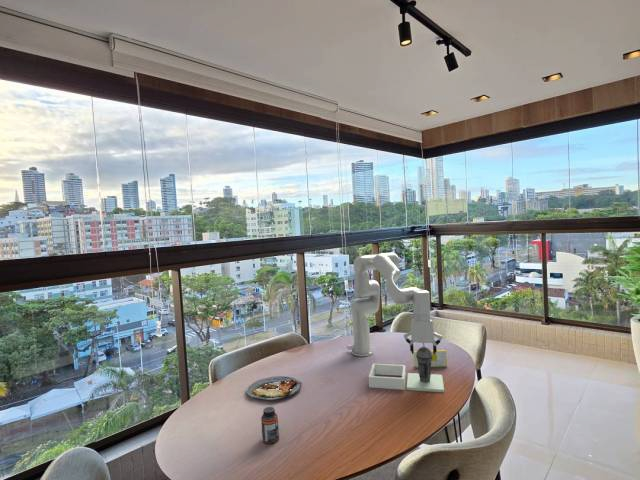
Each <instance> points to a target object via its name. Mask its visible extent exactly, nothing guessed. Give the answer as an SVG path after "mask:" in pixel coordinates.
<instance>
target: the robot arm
mask: <svg viewBox="0 0 640 480" xmlns="http://www.w3.org/2000/svg"><path fill="white" fill-rule="evenodd" d="M399 265H400V258H399V256H398V255H397V253H395V252H393V251H391V252H382V253H375V254H367V255H366V254H365V255H360V256H357V257H356V258H355V259H354V260H353V270H354V271H353V272H354V278H353V279H354V281H353V294H354V297H355V298H357V299H355V300H353V301H352V302H351V303H350V306H349V308H350V312H351V318H352V320H351V321H352V330H353V332H352V335H353V336H352V337H353V344H347V345H346V349H347V350H351V354H352V355H353V356H356V357H368V356H372V355H373V354H374V350H373V349H372V348H371V333H370V322H369V319H368V318H367V317H366V316H368V315H373V314H376V313H378V311H379V309H380V301H381V300H380V299H381V285H380V284H379V282H378V281H377V280H374V279H370V273H369V271H376V270H377V271H378V272H379V273H380V275H381V276H382V277H383V278H384V279H385V289H386V292H387V295H388V297H389V298H390V299H391V300H392V302H394V303H395V304H396V305H398V306H406V305H409V304H412V305H413V310H412V311H413V313H411V314H410V318H412V321H411V329H410V331H408V332H407V333H404V334H403V338H404V339H405V342H407V344H408V345H409V348H410V352H411V354H412V355H414V351H415V350H414V343H422V344H423V343H424V344H427V343H428V344H432V350H433V355H435V352H437V346H438V345H439V344H440V343H441V341H442V340H443V335H441V334H439V333H437V332H436V331H435V328H434V323H433V319H431V299H430V297H431V295H430V291H428V290H426V289H420V288H418V287H416V286H412V287H404V288H399V287H398V286H397V285H396V283H395V282H397V280H399V279H400V277H401V270H400V269H399ZM409 336H410V337H411V339H409ZM435 337H436V338H437V340H435Z"/></svg>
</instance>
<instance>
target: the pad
mask: <svg viewBox="0 0 640 480" xmlns="http://www.w3.org/2000/svg"><path fill="white" fill-rule="evenodd" d="M406 391H418V392H434V393H445V388H444V379H443V375H442V374H437V373H434V374H433V373H431V376H430V382H428V383H424V382H421V381H420V377H419V372H418V373H417V372H416V373H415V372H413V373H412V372H407V380H406Z"/></svg>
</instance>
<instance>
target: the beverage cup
mask: <svg viewBox="0 0 640 480" xmlns="http://www.w3.org/2000/svg"><path fill="white" fill-rule="evenodd" d="M416 351H417V355H416V357H417V361H418V367H417V369H418V373H419V377H420V381H421V382H424V383H428V382H430V376H431V374H432V367H431V361H432V353H431V351H432V350H430V348H428V347H425V343H422V347H419V348H418V349H417V350H416Z"/></svg>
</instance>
